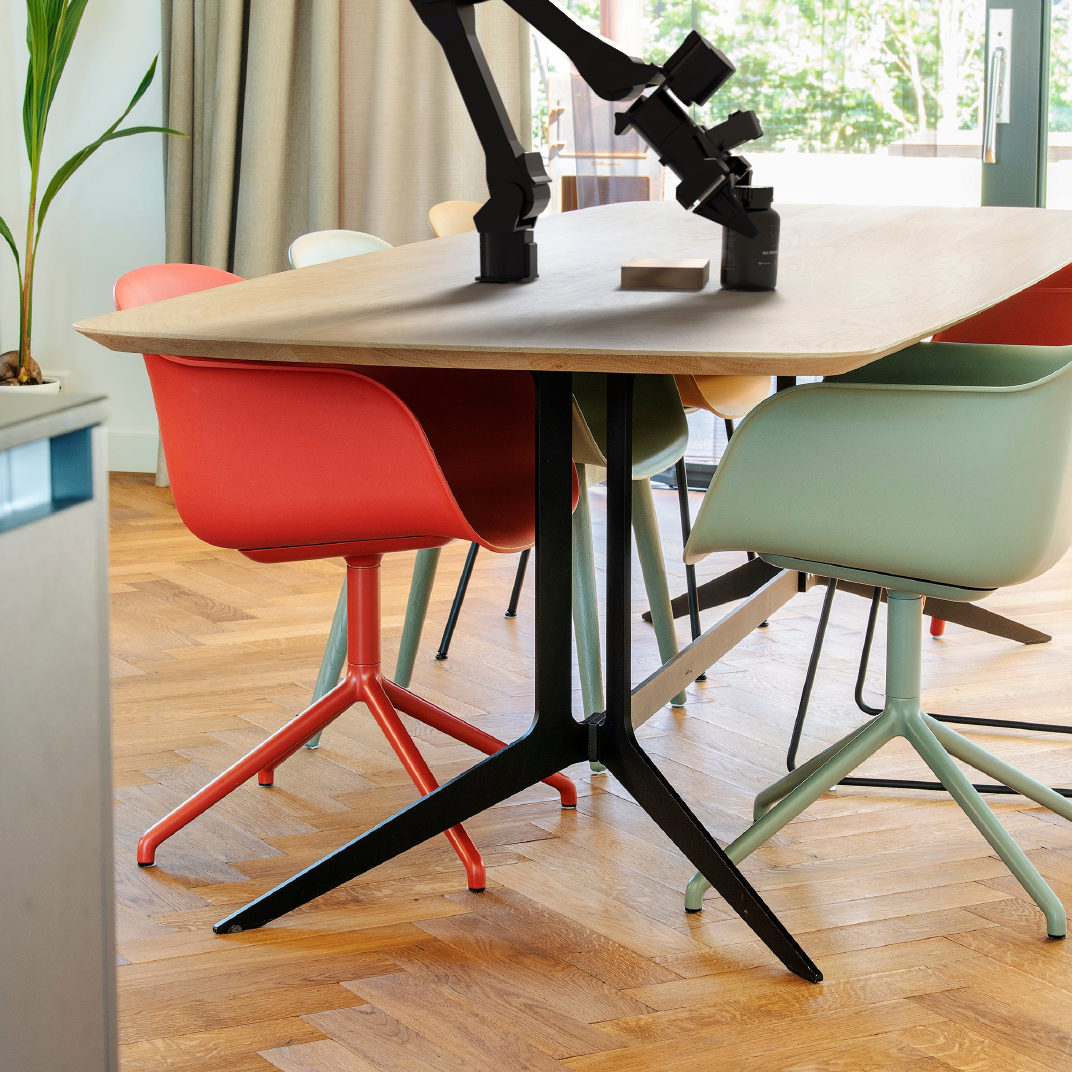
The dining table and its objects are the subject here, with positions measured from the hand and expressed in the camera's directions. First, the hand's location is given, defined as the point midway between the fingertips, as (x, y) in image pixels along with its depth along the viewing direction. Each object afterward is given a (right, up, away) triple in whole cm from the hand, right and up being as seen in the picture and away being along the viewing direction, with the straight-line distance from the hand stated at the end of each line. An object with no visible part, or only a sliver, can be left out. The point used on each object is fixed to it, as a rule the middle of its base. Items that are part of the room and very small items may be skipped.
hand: (762, 232), depth 155 cm
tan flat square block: (-11, -4, +8) cm, 14 cm away
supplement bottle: (-1, -6, +3) cm, 7 cm away
